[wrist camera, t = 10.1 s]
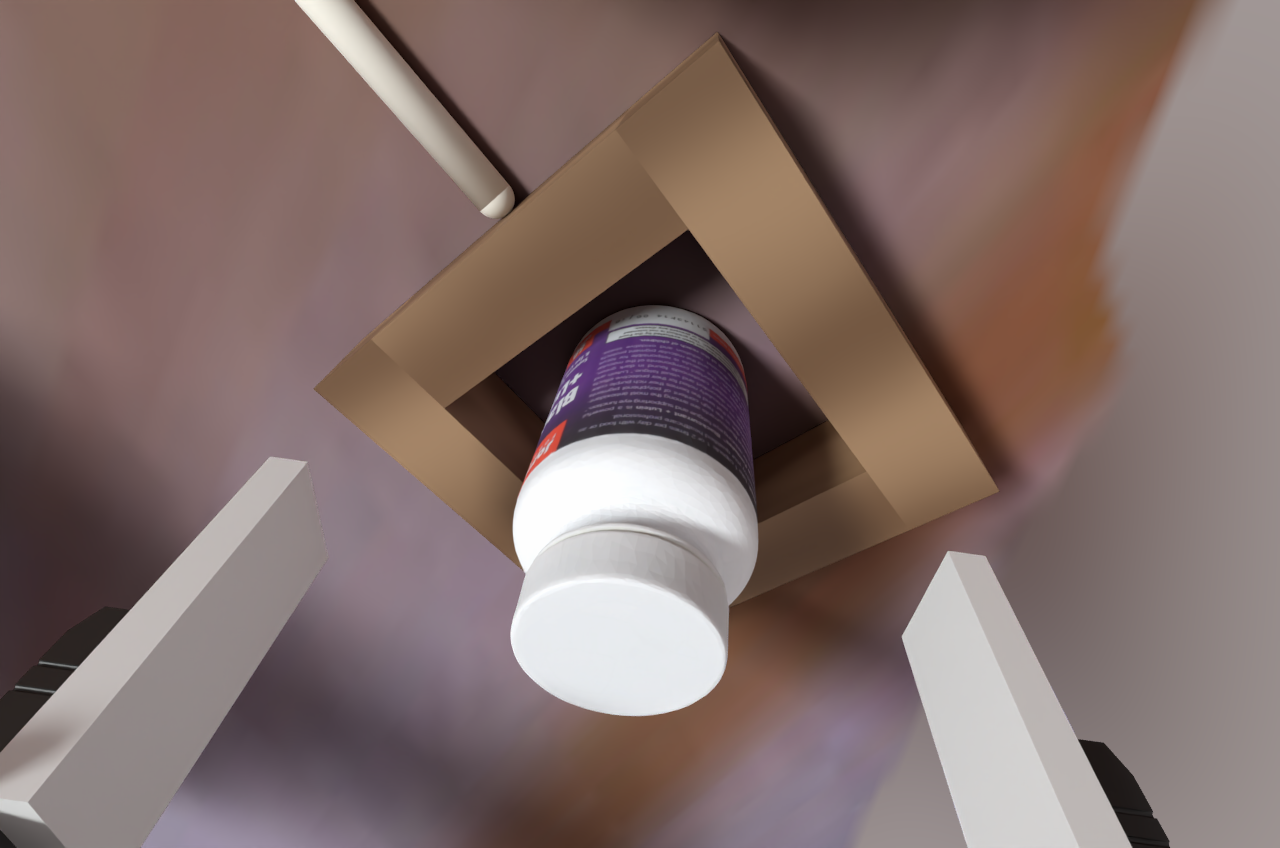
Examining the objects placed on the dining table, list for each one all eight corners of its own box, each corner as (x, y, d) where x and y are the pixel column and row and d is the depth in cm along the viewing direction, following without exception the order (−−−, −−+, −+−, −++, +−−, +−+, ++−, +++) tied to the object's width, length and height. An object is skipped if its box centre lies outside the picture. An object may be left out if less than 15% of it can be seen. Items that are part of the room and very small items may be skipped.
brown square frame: (363, 338, 20) (313, 388, 17) (717, 31, 15) (718, 40, 12) (629, 588, 25) (620, 654, 22) (963, 427, 20) (999, 491, 17)
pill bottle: (563, 296, 18) (447, 536, 10) (754, 303, 18) (788, 559, 10) (573, 449, 21) (490, 728, 13) (738, 458, 21) (754, 751, 13)
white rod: (116, -221, 13) (76, -235, 12) (140, -266, 13) (100, -283, 12) (500, 220, 17) (489, 231, 17) (526, 197, 17) (517, 207, 16)
